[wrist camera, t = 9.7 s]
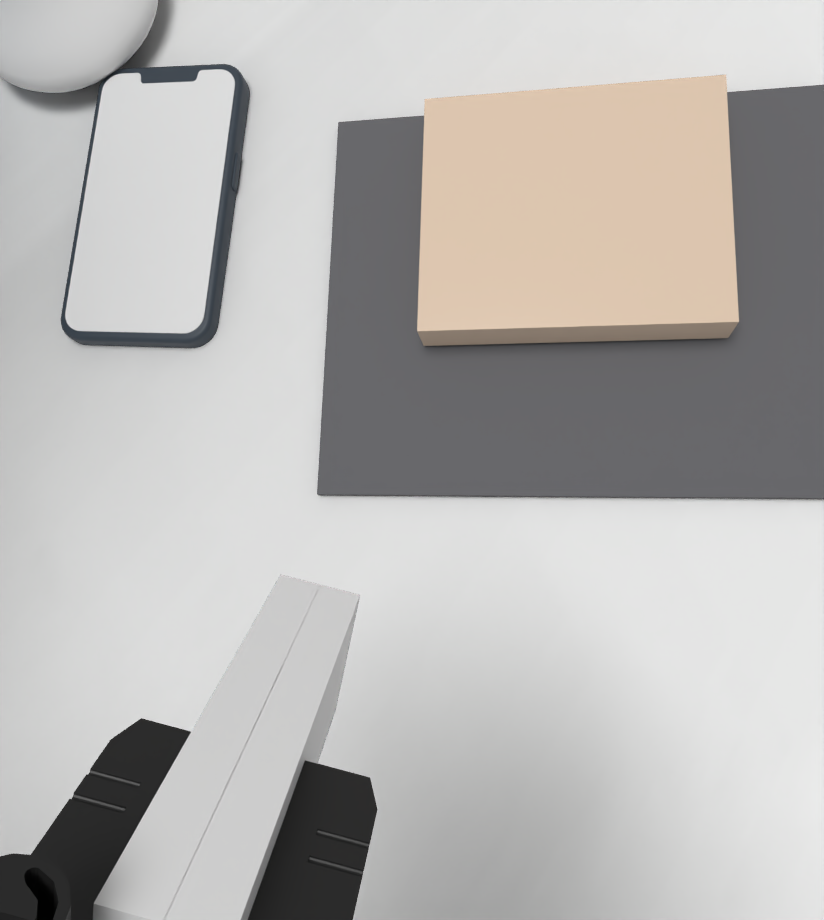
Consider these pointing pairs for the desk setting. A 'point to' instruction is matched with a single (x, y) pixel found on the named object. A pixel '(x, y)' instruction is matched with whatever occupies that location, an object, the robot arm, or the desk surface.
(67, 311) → the smartphone
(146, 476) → the desk surface
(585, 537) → the desk surface
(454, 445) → the mat
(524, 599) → the desk surface
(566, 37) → the desk surface
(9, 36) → the flower in vase
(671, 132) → the tile
